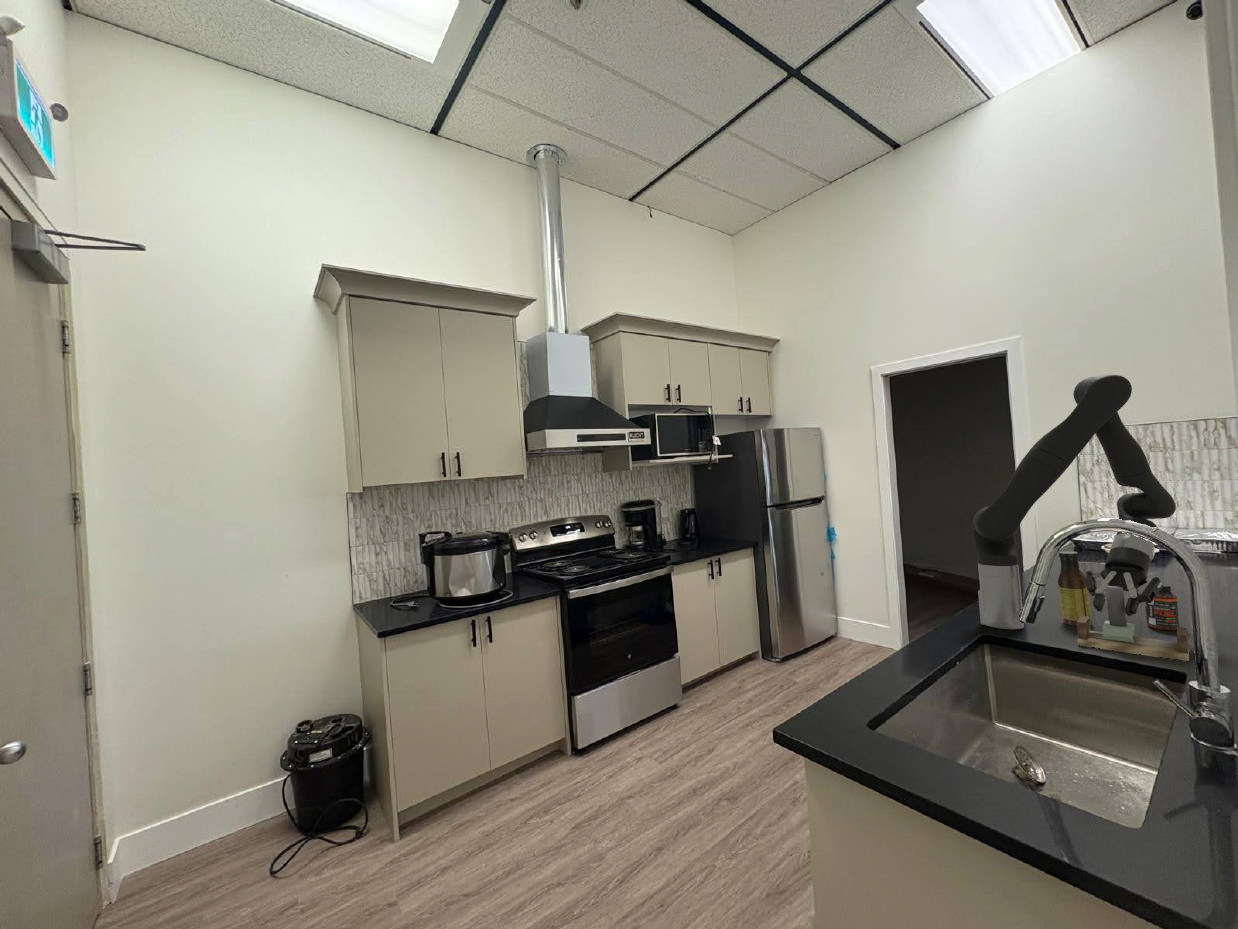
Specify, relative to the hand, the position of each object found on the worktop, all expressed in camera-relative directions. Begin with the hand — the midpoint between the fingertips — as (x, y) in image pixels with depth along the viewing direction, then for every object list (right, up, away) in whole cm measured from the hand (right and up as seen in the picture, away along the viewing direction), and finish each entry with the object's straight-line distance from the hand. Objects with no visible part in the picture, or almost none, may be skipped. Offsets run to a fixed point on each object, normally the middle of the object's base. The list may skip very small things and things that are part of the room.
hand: (1113, 611), depth 121 cm
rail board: (+3, -8, -1) cm, 9 cm away
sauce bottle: (+9, -9, +19) cm, 23 cm away
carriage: (+2, -7, +1) cm, 7 cm away
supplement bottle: (+25, -8, +12) cm, 29 cm away
